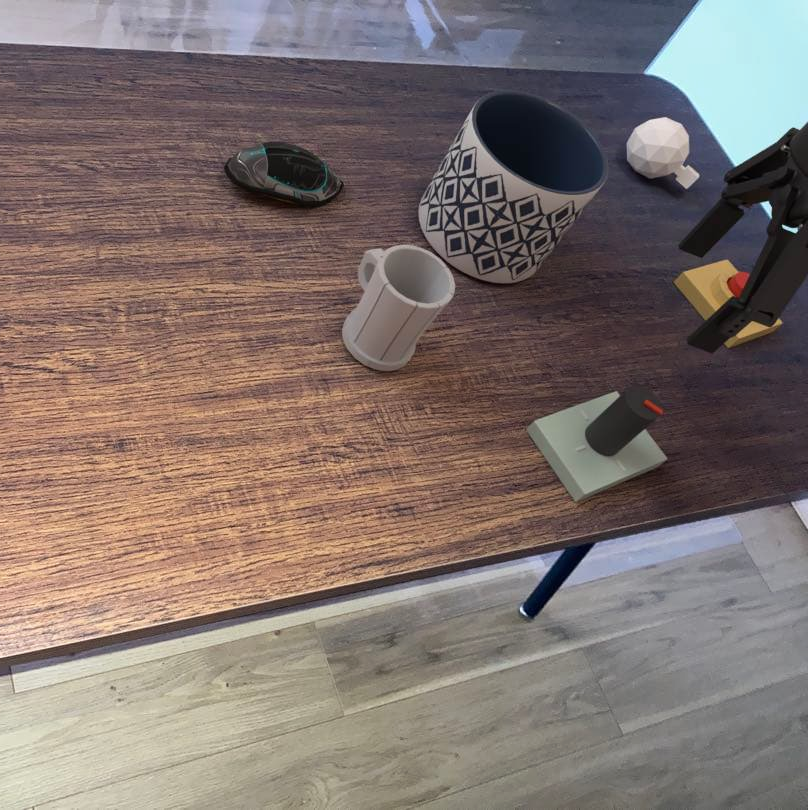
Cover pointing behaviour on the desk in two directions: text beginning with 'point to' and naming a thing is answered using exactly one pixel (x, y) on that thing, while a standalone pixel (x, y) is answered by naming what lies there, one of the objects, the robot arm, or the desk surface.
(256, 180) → the computer mouse
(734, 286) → the power button
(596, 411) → the control panel
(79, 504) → the desk surface
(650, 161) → the perfume bottle
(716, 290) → the power box
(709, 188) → the desk surface
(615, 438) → the dial
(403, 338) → the cup
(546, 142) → the planter
